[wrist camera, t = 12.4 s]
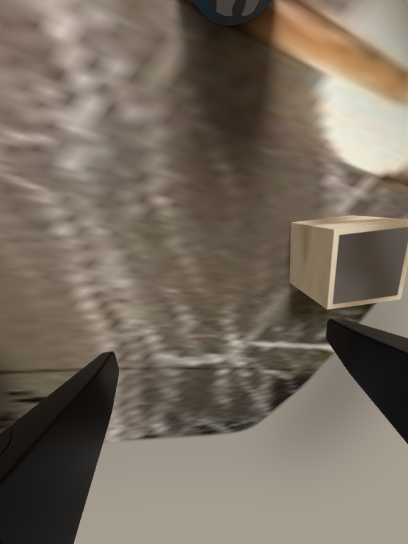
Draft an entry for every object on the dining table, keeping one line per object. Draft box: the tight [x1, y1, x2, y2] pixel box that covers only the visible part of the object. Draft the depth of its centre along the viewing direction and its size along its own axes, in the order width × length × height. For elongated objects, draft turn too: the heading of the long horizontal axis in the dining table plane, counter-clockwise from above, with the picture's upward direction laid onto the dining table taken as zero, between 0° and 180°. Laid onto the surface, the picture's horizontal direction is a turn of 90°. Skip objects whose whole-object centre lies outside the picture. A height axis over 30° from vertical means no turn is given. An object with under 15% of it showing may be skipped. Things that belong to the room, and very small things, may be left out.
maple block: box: [290, 216, 408, 310], centre depth 18 cm, size 6×6×6 cm
